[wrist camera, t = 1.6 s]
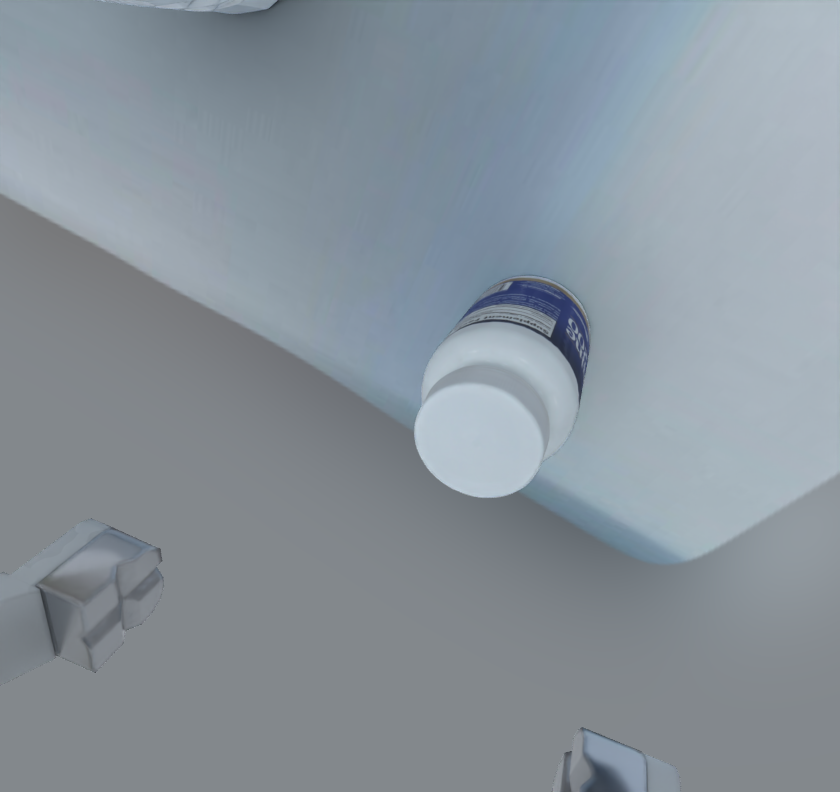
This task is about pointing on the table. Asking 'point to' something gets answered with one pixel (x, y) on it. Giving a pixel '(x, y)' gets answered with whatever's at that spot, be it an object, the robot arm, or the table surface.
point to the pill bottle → (504, 387)
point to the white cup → (202, 5)
